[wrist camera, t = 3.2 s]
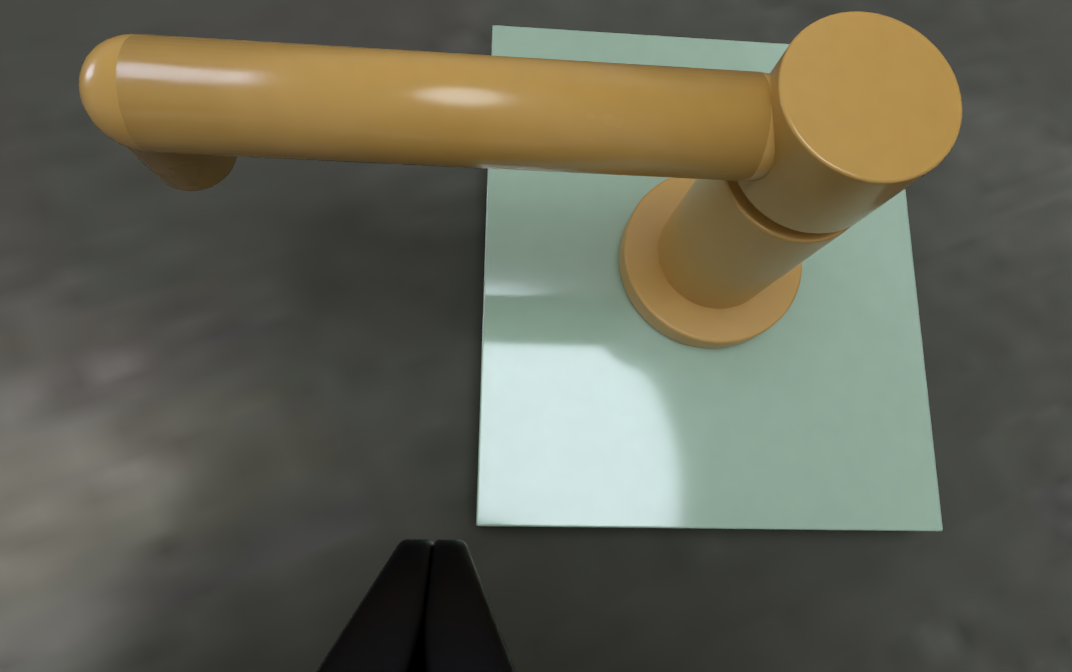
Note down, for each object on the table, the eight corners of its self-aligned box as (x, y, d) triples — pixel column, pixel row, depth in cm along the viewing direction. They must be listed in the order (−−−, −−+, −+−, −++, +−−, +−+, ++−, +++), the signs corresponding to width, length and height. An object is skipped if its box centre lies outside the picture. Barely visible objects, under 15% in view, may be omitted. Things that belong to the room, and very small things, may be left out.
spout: (850, 118, 14) (952, 16, 11) (862, 255, 14) (974, 187, 11) (156, 79, 13) (58, -45, 10) (134, 226, 13) (22, 139, 10)
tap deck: (909, 528, 19) (944, 531, 18) (476, 523, 18) (475, 526, 17) (863, 78, 22) (890, 49, 21) (491, 56, 21) (492, 24, 20)
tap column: (825, 288, 19) (967, 204, 13) (688, 383, 18) (779, 337, 13) (720, 152, 20) (815, 19, 14) (583, 237, 19) (626, 131, 13)
